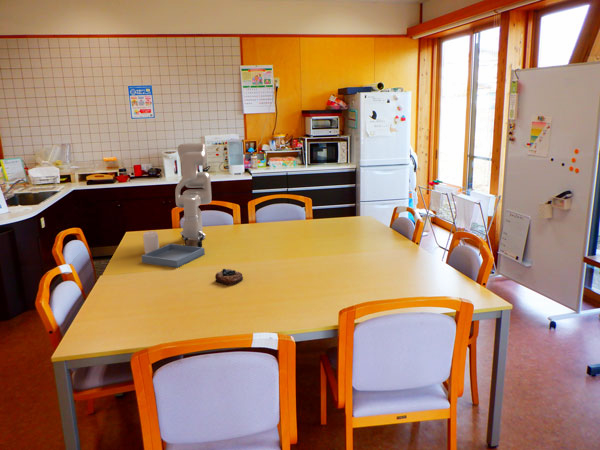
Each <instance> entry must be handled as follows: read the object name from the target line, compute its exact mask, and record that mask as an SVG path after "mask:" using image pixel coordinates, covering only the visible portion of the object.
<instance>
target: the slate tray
mask: <svg viewBox="0 0 600 450" xmlns="http://www.w3.org/2000/svg"><path fill="white" fill-rule="evenodd" d="M205 255H206V253H205V247H193V246H186V245H185V244H176V243H168V244H166V245H163V246H162V247H159V249H156V250H154V251H151V252H149V253H147V254H146V253H145V254H142V255H141V257H140V258H141V263H142V264H143V263H144V264H149V265H155V266H156V265H157V266H163V267H167V266H168V268H174V267H175V269H178V267H179V268H181V267H183V266H184V264H185V265H187V264H189V263H191V262H193V261H195V260H197V259H199V258H201V257H203V256H205ZM182 265H183V266H182ZM180 266H181V267H180Z"/></svg>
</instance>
